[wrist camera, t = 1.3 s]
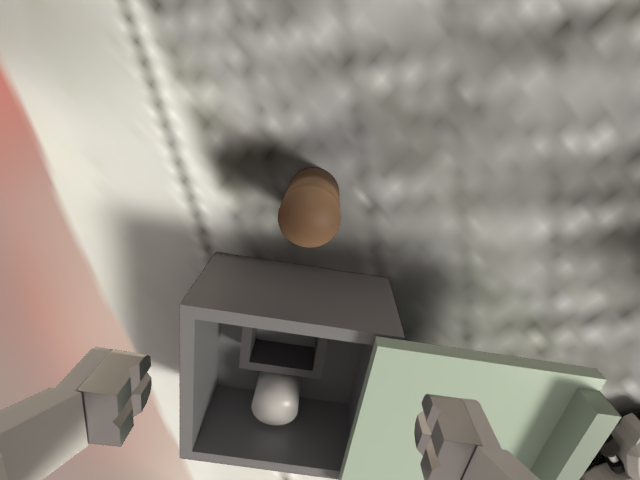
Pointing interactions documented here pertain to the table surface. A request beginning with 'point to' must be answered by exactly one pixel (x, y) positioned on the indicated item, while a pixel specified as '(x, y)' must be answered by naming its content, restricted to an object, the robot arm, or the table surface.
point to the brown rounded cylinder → (310, 208)
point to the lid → (496, 401)
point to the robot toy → (620, 453)
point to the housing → (277, 362)
